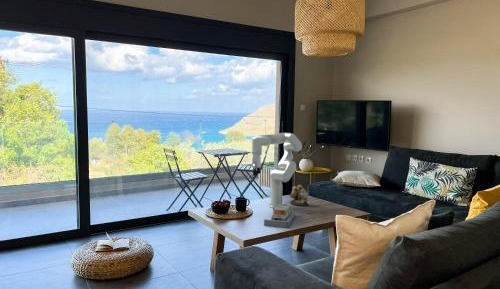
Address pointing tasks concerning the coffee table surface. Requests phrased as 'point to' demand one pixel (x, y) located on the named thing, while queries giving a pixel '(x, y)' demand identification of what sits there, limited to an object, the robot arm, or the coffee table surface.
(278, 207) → the toy car
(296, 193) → the owl figurine
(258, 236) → the coffee table surface
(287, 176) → the robot arm
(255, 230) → the coffee table surface
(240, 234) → the coffee table surface
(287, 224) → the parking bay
